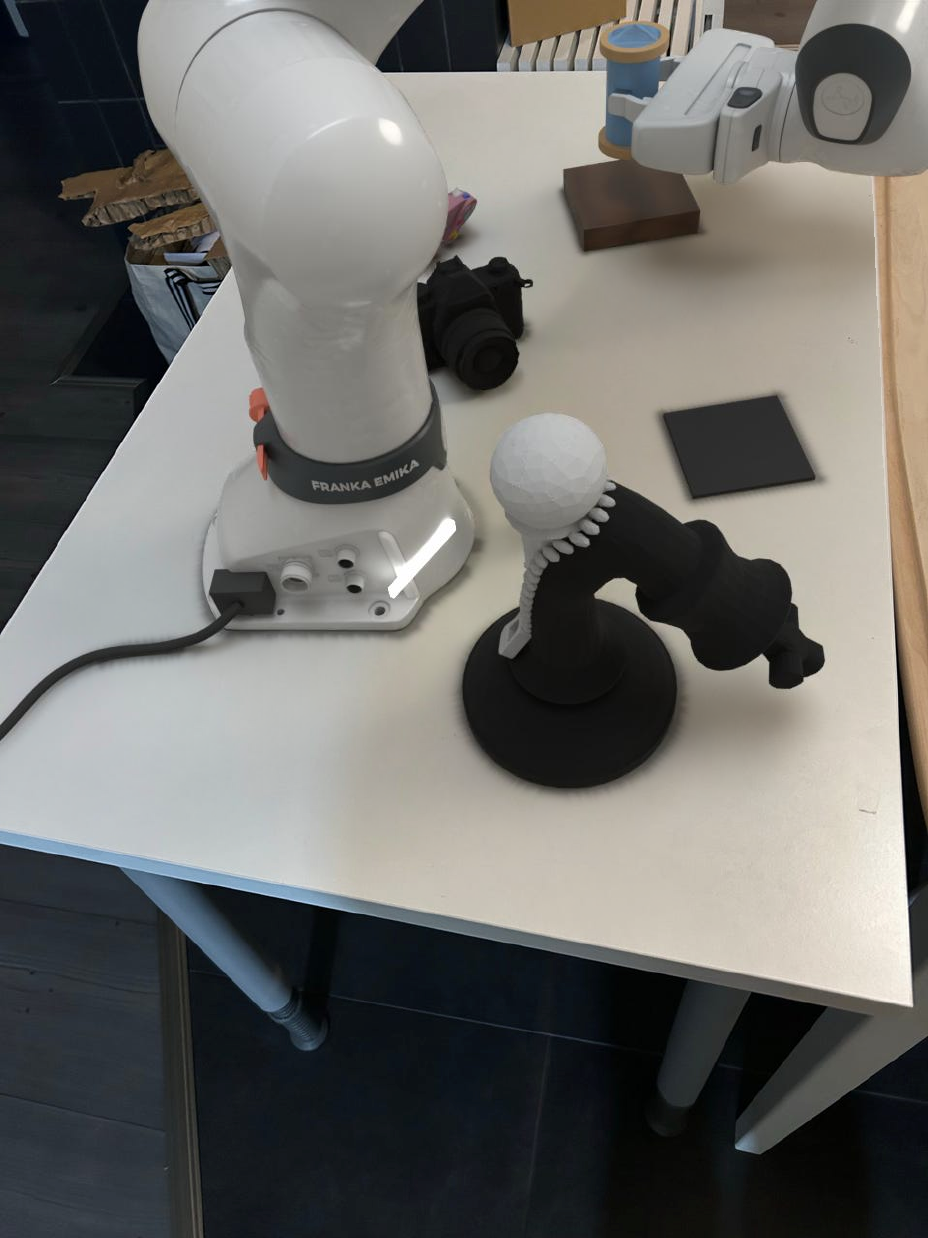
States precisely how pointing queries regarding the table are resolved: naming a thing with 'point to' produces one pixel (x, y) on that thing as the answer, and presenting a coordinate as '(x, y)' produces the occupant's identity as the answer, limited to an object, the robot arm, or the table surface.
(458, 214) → the pink toy car
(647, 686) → the sculpture
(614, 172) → the platform
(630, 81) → the spool
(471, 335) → the film camera
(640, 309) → the table surface
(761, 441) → the coaster
